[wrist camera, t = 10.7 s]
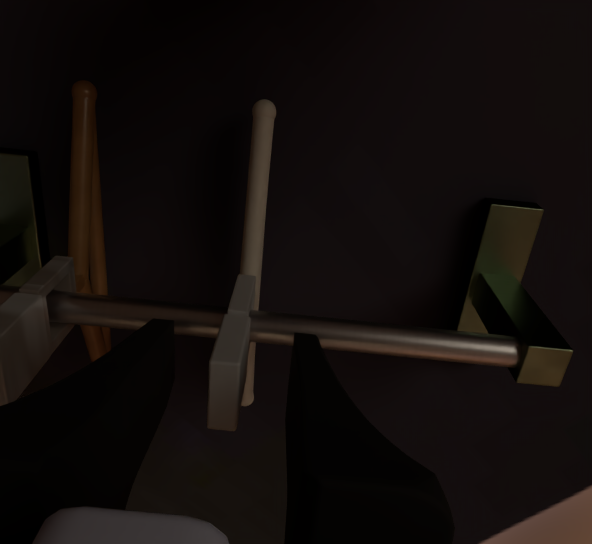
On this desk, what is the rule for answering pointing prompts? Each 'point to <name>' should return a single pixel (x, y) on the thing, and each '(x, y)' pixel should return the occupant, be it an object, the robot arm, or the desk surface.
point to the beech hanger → (61, 266)
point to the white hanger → (243, 290)
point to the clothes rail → (331, 331)
